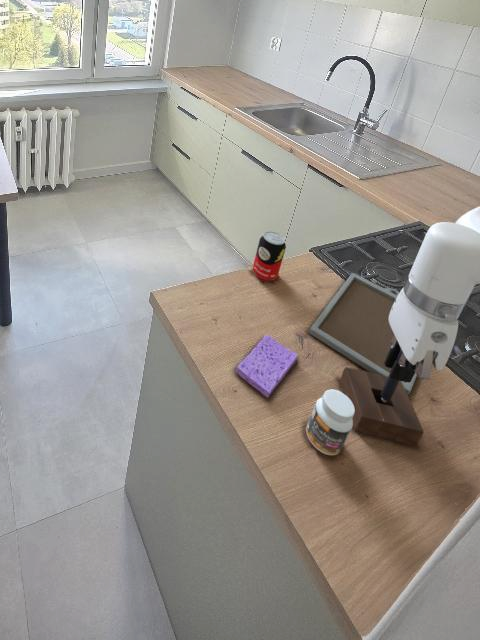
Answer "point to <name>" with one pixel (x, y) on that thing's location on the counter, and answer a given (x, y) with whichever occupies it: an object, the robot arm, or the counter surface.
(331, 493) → the counter surface
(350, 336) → the grey-rimmed serving tray
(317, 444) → the pill bottle
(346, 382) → the dock
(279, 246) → the beverage can
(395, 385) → the peg
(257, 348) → the sponge
